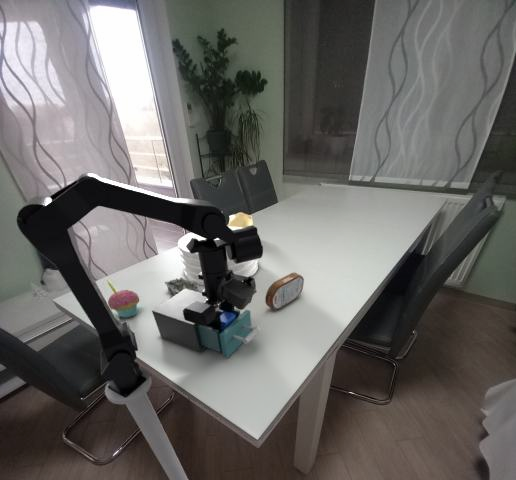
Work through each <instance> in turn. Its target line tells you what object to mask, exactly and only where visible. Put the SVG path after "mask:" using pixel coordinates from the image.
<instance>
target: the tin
mask: <svg viewBox="0 0 516 480" xmlns="http://www.w3.org/2000/svg"><path fill="white" fill-rule="evenodd" d="M304 283H305V278H304V277H303V276H302V275H301V274H299V273H297V272H291V273H289V274H287V275H285V276H284V277H281V278H279V279H277V280H276V281H274V282H272V283H271V285H270V286H269V287H268V288H267V291H266V294H265V300H264V302H265V305H266V306H267V307H269V308H271V309H273V310H279V309H282V308H283V307H285V306H286V305H288V304H290V303H291V302H293V301H295V300H296V299H298V297H299V296H300V295H301V294H302V291H303V289H304Z"/></svg>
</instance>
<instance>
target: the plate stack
mask: <svg viewBox="0 0 516 480" xmlns="http://www.w3.org/2000/svg"><path fill="white" fill-rule="evenodd" d="M227 226H228V225H227ZM228 227H229V228H230V229H232V230H237V229H242V228H241V227H231V226H228ZM192 236H194V237H195V238H196V239H198V240H200V239H205V238H203V237H201V236H198V235H196V234H194V233H191V232H189V233H186V234H185V235H184V236H182V237H181V238H179V240H178V242H177V247H178V249H179V254H180V255H179V256H180V257H181V262H182V267H183V270H184V275H185V278H186V280H189V281H192V282H193V281H195V282H196V283H197V284H198V285H200V286H204V282H203V280H201V279H199V278H198V274H200V273H201V272H202V271H201V266H200V261H199V256H198V253H193V254H192V253H190V252H189V250H188V249H187V248H186V245H187V244H188V243H189V242H190V240H191V238H192ZM214 240H219V239H218V238H217V239H214ZM226 255H227V253H226ZM227 262H228V269H229V270H233V273H234V274H237V275H241V276H246V277H249V276H251V277H252V276H253V275H254V274H256V273H257V271H258V268H259V267H258V266H259V263H258V259H255V260H251V261H247V262H242V263H238V264H236V263H235V262H234V261H233V260H230V259H229V258H228V256H227Z"/></svg>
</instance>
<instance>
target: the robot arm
mask: <svg viewBox="0 0 516 480" xmlns="http://www.w3.org/2000/svg"><path fill="white" fill-rule="evenodd" d="M97 207H98V208H99V207H102V208H105V209H110V210H114V211H119V212H123V213H127V214H131V215H136V216H140V217H145V218H148V219H152V220H157V221H160V222H165V223H169V224H173V225H175V226H178V227H180V228H182V229H184V230H186V231H188V232H189V233H194V234H196V235H198V236H201V237H203V238H205V239H200V240H198V239H196V238H195V237H194V236H192V238H191V240H190V242H189V243H188V244H187V245H186V248H187V249H188V250H189V252H190V253H192V254H193V253H198V256H199V261H200V266H201V271H202V272H201V273H200V274H198V278H199V279H201V280H203V282H204V285H203V287H204V289H203V290H202V291H201V293H202V296H205V297H207V300H205V301H204V303H202V302H199V301H194V302H193V303H191V304H190V305H189V306H187V307H186V308H185V309H184V310H183V315H184V319H185V320H187V321H190V322H193V323H196V324H199V325H202V326H207V325H208V324H209V323H210V324H211V325H212V326H213V327H214V329H216V330H219V333H220V332H221V319H220V316H221V315H222V314H223V313H224V312H222V311H219V304H220V305H221V308H222V310H223V311H226V312H229V313H233V312H234V309H237V310H240V311H242V310H243V311H244V310H245V308H246V307H247V306H248V305H249V304H251V303H252V301H253V297H254V295H255V294H256V293H257V284H256V279H255V277H252V276H249V277H246V276H241V275H237V274H234V273H233V270H229V269H228V262H227V256H228V258H229V259H230V260H233V261H234V262H235V263H236V264H238V263H242V262H247V261H251V260H255V259H257V260H259V259H262V258H263V256H264V255H263V254H264V246H263V244H262V240H261V237H260V235H259V233H258V228H257V227H256V226H254V224H253V225H252V226H247V227H245V228H242V229H237V230H232V229H230V228H229V227H228V224H227V221H226V215H225V214H224V213H223V210H221V208H219V207H217V206H216V205H214V204H212V202H210V201H208V200H204V199H198V198H197V199H196V198H176V197H170V196H166V195H164V194H159V193H155V192H152V191H148V190H145V189H143V188H138V187H135V186H132V185H129V184H124V183H120V182H118V181H114V180H110V179H107V178H103V177H100V176H99V175H97V174H95V173H91V172H84V173H82V174H80V175H79V176H78V178H77V179H76V180H74V181H72V182H71V183H69V184H67V185H66V186H64V187H62V188H60V189H59V190H57V191H56V192H54V193H53V194H51V195H50V196H44V195H38V196H37V195H36V196H33V197H31V198H29V199H28V200H27V201H26V202H25V204H24V205H23V206H22V207H21V208H20V210H19V211H18V213H17V215H16V225H17V227H18V230H19V231H20V233H21V235H23V236H24V238H25V239H26V240H27V241H28V242H29V243H30V244H31V246H33V248H34V249H35V250H36V251H37V252H38V253H39V254H40V255H42V257H44V258H45V259H47V260H48V261H49V262H50V263H51V264H52V265H54V266H55V267H56V269H57V271H58V272H59V274H60V276H61V277H62V279H63V280H64V281H65V284H66V285H67V286H68V288H69V290H70V291H71V293H72V295H73V296H74V297H75V300H76V301H77V302H78V304H79V306H80V307H81V309H82V310H83V312H84V314H85V315H86V317H87V319H88V320H89V321H90V323H91V325H92V326H93V328H94V329H95V331H96V333H97V335H98V339H99V342H100V346H101V350H100V352H99V353H100V354H99V355H100V377H101V379H104V380H105V381H106V382H107V383H109V386H108V388H109V389H110V390H112V391H114V392H115V393H117V394H119V395H121V396H123V397H124V398H126V397H128V396H129V395H130V394H131V393H133V392H134V391H135V390H136V389H137V388H138V387H140V386H141V385H142V384H143V383H144V382H145V381H146V380H147V378H146V377H144V376H142V371H141V369H142V368H141V367H140V365H139V363H138V361H136V359H137V352H138V351H139V348H138V344H137V343H138V342H137V338H136V333H135V332H133V331H132V329H131V327H130V324H129V321H128V320H125V321H123V322H120V321H119V320H118V319H117V318H116V316H115V315H114V313H113V312H112V309H111V308H110V307H109V304H108V301H107V300H106V298H105V296H104V294H103V293H102V290H101V289H100V287H99V285H98V284H97V282H96V280H95V278H94V277H93V275H92V273H91V271H90V269H89V268H88V266H87V264H86V262H85V261H84V258H83V257H82V255H81V252H80V247H79V244H78V241H77V238H76V237H77V236H76V233H75V231H74V228H73V227H74V226H75V225H76V224H77V223H79V222H80V221H81V220H82V219H83V218H84V217H85V216H87V215H88V214H90V213H91V212H92V211H94V210H95V209H96V208H97ZM217 238H218V239H219V240H214V239H217ZM226 253H227V255H226ZM144 379H145V380H144Z"/></svg>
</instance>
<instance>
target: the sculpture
mask: <svg viewBox="0 0 516 480" xmlns="http://www.w3.org/2000/svg"><path fill="white" fill-rule="evenodd" d="M228 218H229V222H228V224H227V226H231V227H241V228H245V227H247V226H252V225H253V226H254V221H253V216H252V215H249V214H247V213H244V212H242V211H240V212H237V213H234V214H231V215H229V217H228Z"/></svg>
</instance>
